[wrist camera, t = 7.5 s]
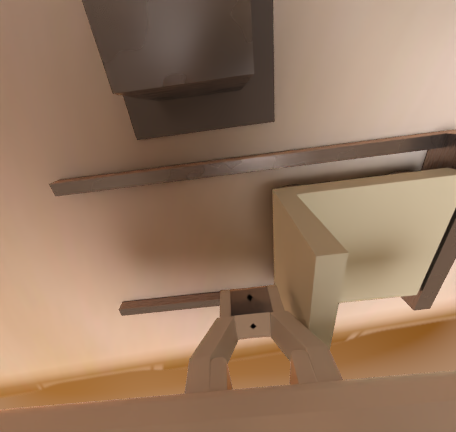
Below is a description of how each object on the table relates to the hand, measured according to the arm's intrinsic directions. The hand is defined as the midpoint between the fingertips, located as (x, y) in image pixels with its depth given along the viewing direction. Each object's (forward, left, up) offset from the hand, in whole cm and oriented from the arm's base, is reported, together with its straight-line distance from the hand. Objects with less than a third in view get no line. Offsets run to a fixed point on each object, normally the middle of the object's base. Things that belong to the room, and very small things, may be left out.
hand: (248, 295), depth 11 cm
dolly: (+7, 0, -5) cm, 9 cm away
